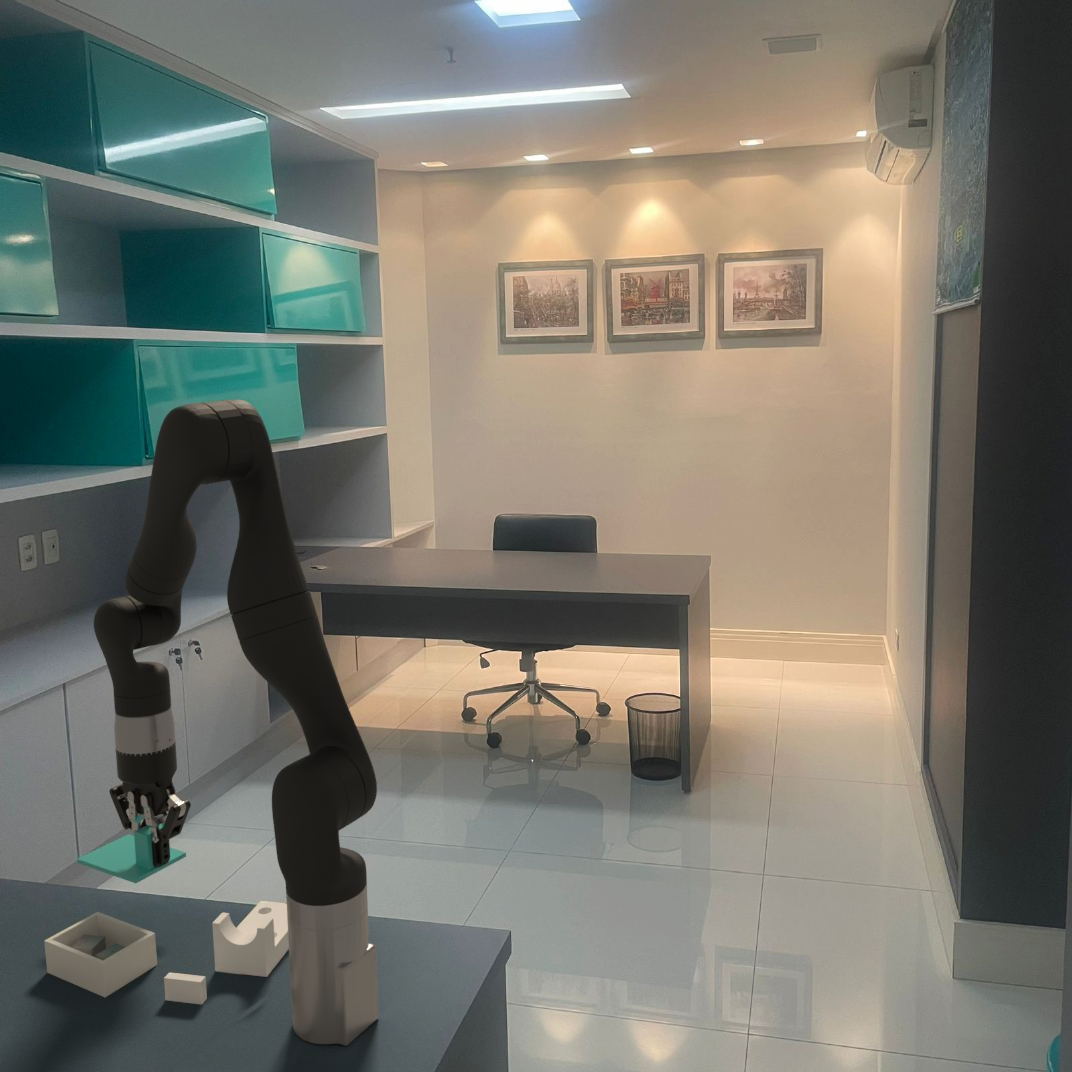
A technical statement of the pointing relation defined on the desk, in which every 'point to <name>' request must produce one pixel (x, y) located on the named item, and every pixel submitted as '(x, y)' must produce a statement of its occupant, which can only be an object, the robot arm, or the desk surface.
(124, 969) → the tub
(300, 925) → the robot arm
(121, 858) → the lid
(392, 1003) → the desk surface
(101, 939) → the block
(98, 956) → the block
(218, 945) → the bracket
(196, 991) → the eraser
